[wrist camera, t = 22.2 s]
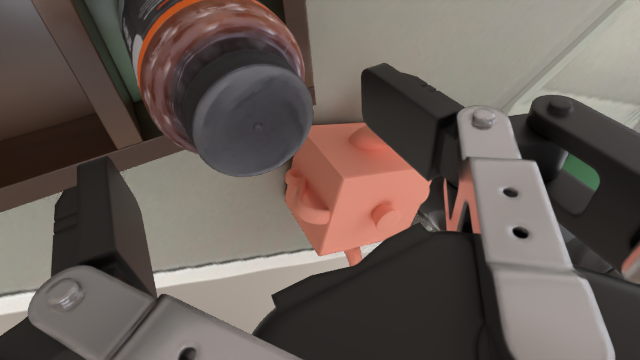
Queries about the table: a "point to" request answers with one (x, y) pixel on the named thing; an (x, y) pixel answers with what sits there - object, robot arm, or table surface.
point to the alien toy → (581, 171)
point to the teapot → (351, 189)
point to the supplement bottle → (220, 80)
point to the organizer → (81, 93)
